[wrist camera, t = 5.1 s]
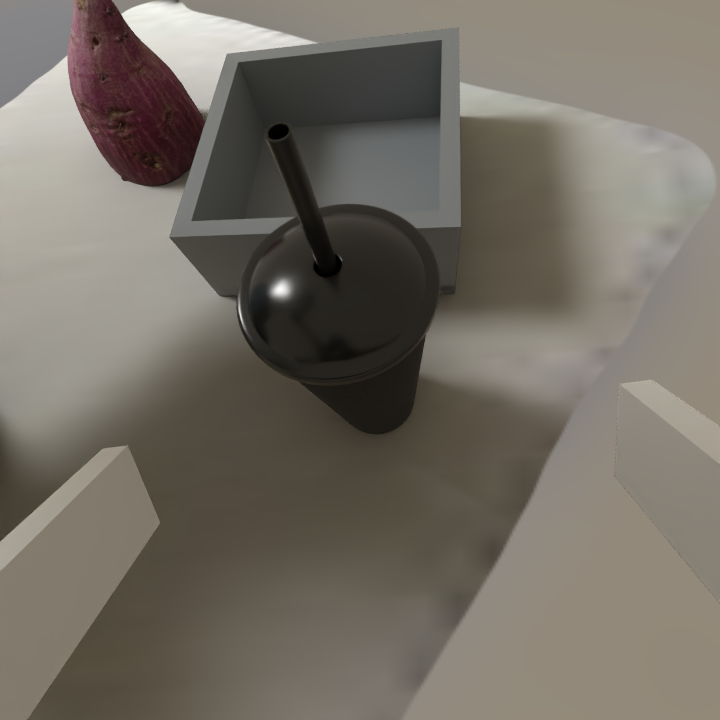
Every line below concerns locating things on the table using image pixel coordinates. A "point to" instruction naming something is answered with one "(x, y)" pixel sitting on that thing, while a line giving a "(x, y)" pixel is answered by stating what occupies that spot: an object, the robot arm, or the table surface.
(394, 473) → the table surface
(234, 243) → the bin
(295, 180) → the drinking cup
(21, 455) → the table surface
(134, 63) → the vegetable
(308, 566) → the table surface
